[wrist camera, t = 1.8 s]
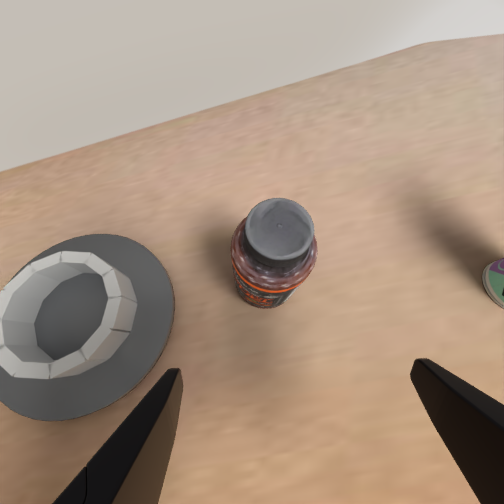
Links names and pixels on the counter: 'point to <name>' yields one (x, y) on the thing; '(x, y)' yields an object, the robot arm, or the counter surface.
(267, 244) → the supplement bottle
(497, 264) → the spray can
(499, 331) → the counter surface
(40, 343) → the ring mount
